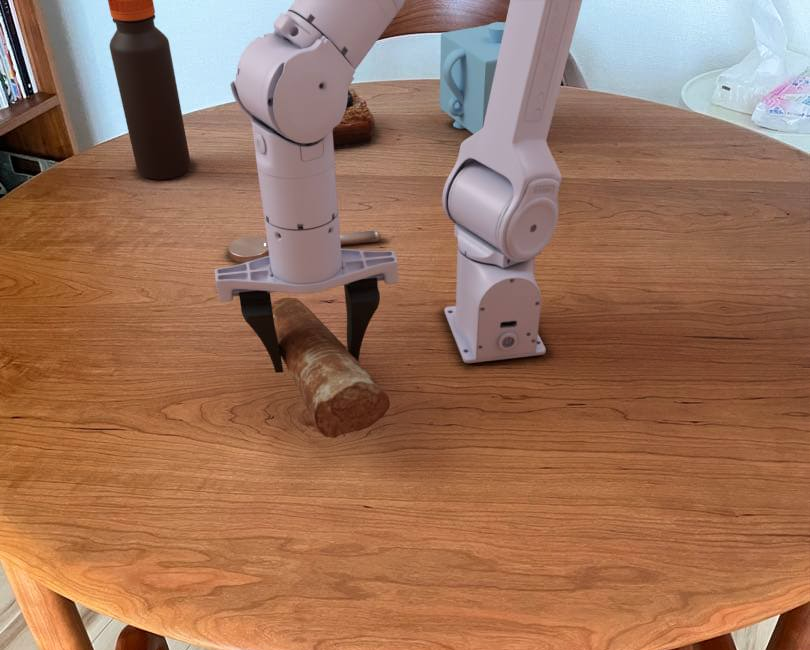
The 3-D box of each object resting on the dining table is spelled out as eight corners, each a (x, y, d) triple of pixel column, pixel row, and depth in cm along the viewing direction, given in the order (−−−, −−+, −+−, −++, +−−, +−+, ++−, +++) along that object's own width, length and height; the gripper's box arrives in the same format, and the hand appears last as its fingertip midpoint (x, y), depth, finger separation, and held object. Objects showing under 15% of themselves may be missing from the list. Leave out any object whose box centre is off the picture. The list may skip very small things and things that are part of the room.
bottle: (175, 184, 113) (139, 4, 99) (127, 176, 115) (86, -1, 100) (200, 162, 117) (170, -13, 103) (154, 155, 119) (118, -18, 105)
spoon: (383, 250, 101) (383, 240, 100) (230, 265, 99) (229, 255, 98) (377, 231, 104) (376, 221, 103) (228, 245, 102) (227, 235, 101)
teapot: (422, 123, 125) (423, 19, 116) (520, 103, 130) (528, 2, 121) (484, 174, 114) (490, 64, 105) (590, 150, 118) (604, 43, 109)
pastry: (277, 123, 126) (272, 79, 122) (360, 112, 128) (358, 68, 124) (294, 155, 119) (289, 108, 114) (382, 143, 121) (381, 97, 117)
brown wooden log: (319, 454, 73) (317, 397, 69) (256, 332, 85) (251, 278, 81) (393, 438, 74) (394, 381, 70) (320, 321, 87) (318, 267, 83)
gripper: (386, 181, 73) (390, 327, 83) (204, 198, 71) (230, 345, 81) (401, 221, 68) (404, 371, 78) (206, 241, 66) (234, 392, 76)
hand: (316, 361), depth 79 cm, fingers closed on brown wooden log, 6 cm apart
